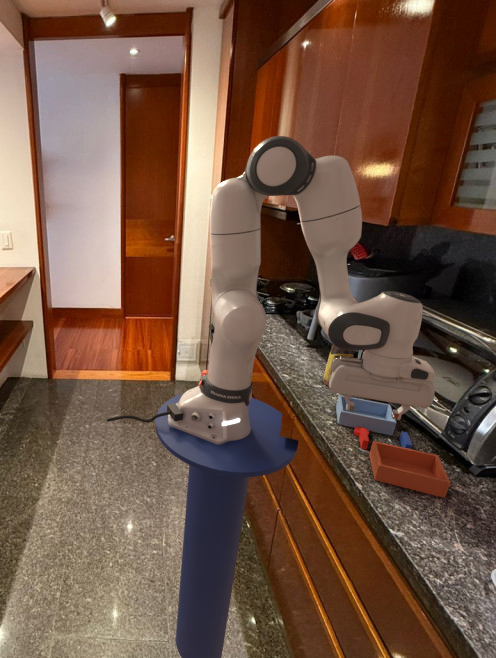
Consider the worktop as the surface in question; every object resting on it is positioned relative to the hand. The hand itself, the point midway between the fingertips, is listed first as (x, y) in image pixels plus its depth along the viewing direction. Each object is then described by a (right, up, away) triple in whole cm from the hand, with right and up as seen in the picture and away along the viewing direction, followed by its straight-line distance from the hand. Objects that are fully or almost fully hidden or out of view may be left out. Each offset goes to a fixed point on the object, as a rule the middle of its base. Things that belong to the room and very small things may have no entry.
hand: (372, 413), depth 93 cm
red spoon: (0, -7, +4) cm, 8 cm away
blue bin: (+5, -4, +11) cm, 13 cm away
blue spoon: (+8, -9, 0) cm, 12 cm away
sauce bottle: (+8, +3, +29) cm, 31 cm away
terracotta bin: (+2, -12, -8) cm, 14 cm away
